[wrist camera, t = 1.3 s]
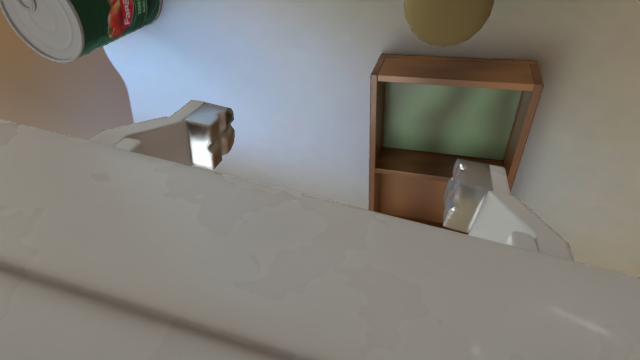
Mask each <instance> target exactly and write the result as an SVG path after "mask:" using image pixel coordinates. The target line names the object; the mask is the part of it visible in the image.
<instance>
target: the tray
mask: <svg viewBox="0 0 640 360" xmlns="http://www.w3.org/2000/svg"><path fill="white" fill-rule="evenodd" d="M543 86H544V85H543V81H542V78H541V75H540V71H539V68H538V65H537V62H536V61H523V60H501V59H479V58H457V57H435V56H413V55H391V54H381V55H380V57H379V59H378V61H377V63H376V65H375V67H374V69H373V71H372V73H371V85H370V156H369V210H370V211H374V212H378V213H382V214H386V215H390V216H394V217H398V218H402V219H406V220H410V221H414V222H418V223H422V224H426V225H430V226H434V227H438V228H442V229H446V230H450V231H455V232H459V233H463V234H467V235H468V234H469V233H465V232H462V231H458V230H454V229H451V228H447V227H443V212H444V209H445V206H444V205H443V199H444V193H445V189H446V186H447V183H448V180H449V179H450V178H451V177H453V167H454V164H455V162H456V160H457V159H464V160H469V161H474V162H480V163H485V164H489V165H495V166H500V167H504V168H505V170H506V175H507V179H508V184H509V188H510V192H511V189H512V185H513V182H514V179H515V176H516V173H517V169H518V166H519V163H520V160H521V157H522V153H523V150H524V147H525V144H526V140H527V137H528V134H529V131H530V128H531V124H532V121H533V118H534V115H535V112H536V108H537V105H538V102H539V99H540V96H541V92H542V89H543Z"/></svg>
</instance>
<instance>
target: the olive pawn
mask: <svg viewBox="0 0 640 360" xmlns="http://www.w3.org/2000/svg"><path fill="white" fill-rule="evenodd" d="M493 4H494V0H405V1H404V9H405V17H406V19H407V22H408V24H409V26H410V28H411V30H412V31H413V32H414V33H415V35H416V36H417V37H418V38H419V39H421V40H422V41H424V42H426V43H428V44H430V45H435V46H442V47H445V46H452V45H457V44H459V43H461V42H463V41H466V40H468V39H469V38H471V37H472V36H473V35H474V34H475V33H476V32H478V31H479V30H480V29H481V28H482V26H483V25H484V23H485V22H486V20H487V19H488V17H489V16H490V13H491V10H492V7H493Z"/></svg>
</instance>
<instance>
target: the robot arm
mask: <svg viewBox="0 0 640 360" xmlns="http://www.w3.org/2000/svg"><path fill="white" fill-rule="evenodd" d="M233 120H234V116H233V111H232V109H231V108H228V107H223V106H219V105H215V104H211V103H206V102H203V101H198V100H191V101H190V102H188V103H187V104H186V105H184V106H183V107H182V108H181V109H179V110H178V111H177V112H175V113H174V114H173V115H172V116H170V117H161V118H157V119H152V120H148V121H143V122H139V123H134V124H130V125H126V126H122V127H117V128H112V129H108V130H103V131H102V132H100V133H99V134H98V135H96V136H94V137H93V138H92V139H90V140H89V141H87V140H83V139H79V138H75V137H71V136H67V135H63V134H59V133H55V132H51V131H47V130H43V129H39V128H35V127H31V126H27V125H22V124H19V123H15V122H11V121H7V120H3V119H0V360H640V277H636V276H632V275H628V274H624V273H620V272H616V271H612V270H608V269H604V268H600V267H596V266H592V265H588V264H584V263H580V262H576V261H574V259H573V256H572V253H571V250H570V247H569V244H568V243H567V242H566V241H565V240H564V239H563V238H562V237H561V236H560V235H558V234H557V233H556V232H555V231H554V230H553V229H552V228H550V227H549V226H548V225H547V224H546V223H545V222H544V221H543V220H541V219H540V218H539V217H538V216H537V215H536V214H535V213H533V212H532V211H531V210H530V209H529V208H528V207H527V206H526V205H524V204H523V203H522V202H521V201H520V200H519V199H518V198H517V197H515V196H511V193H510V188H509V184H508V179H507V175H506V170H505V168H504V167H500V166H495V165H489V164H485V163H480V162H474V161H469V160H464V159H457V160H456V162H455V164H454V167H453V177H451V178H450V179H449V180H448V183H447V186H446V189H445V193H444V199H443V205H444V206H445V209H444V212H443V227H447V228H451V229H454V230H458V231H462V232H465V233H469V234H468V235H467V234H463V233H459V232H455V231H450V230H446V229H442V228H438V227H434V226H430V225H426V224H422V223H418V222H414V221H410V220H406V219H402V218H398V217H394V216H390V215H386V214H382V213H378V212H374V211H370V210H366V209H362V208H358V207H354V206H350V205H345V204H341V203H337V202H333V201H329V200H325V199H321V198H317V197H313V196H309V195H305V194H301V193H297V192H293V191H289V190H285V189H281V188H277V187H273V186H269V185H265V184H261V183H257V182H253V181H249V180H245V179H241V178H237V177H233V176H229V175H225V174H221V173H217V172H213V171H208V170H204V169H200V168H196V167H192V165H194V166H199V167H204V168H208V169H213V170H214V169H215V167H216V166H217V165H218V164H219V163H220V162H221V161H222V155H225V154H228V152H229V151H230V150H231V148H232V146H233V143H234V137H235V134H234V129H233V127H232V126H231V123H232V121H233Z"/></svg>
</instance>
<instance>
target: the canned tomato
mask: <svg viewBox="0 0 640 360" xmlns="http://www.w3.org/2000/svg"><path fill="white" fill-rule="evenodd" d="M161 7H162V0H0V8H1V10H2V12H3V14H4V16H5V18H6V19H7V21H8V23H9V24H10V26H11V27H12V28H13V30H14V31H15V32H16V34H17V35H18V36H19V37H20V38H21V39H22V40H23V41H24V42H25V43H26V44H27V45H28V46H29V47H30V48H31V49H33V50H34V51H36V52H37V53H38V54H40V55H41V56H43V57H45V58H47V59H49V60H52V61H55V62H59V63H70V62H72V61H75V60H76V59H77V58H79V57H81V56H83V55H86V54H88V53H90V52H92V51H94V50H96V49H98V48H101V47H103V46H104V45H107V44H109V43H111V42H113V41H115V40H117V39H119V38H121V37H123V36H125V35H127V34H130V33H131V32H134V31H136V30H138V29H140V28H142V27H144V26H146V25H149V24H151V23H153V22H154V21H155V20H156V19H157V18H158V16H159V14H160V11H161Z"/></svg>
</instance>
